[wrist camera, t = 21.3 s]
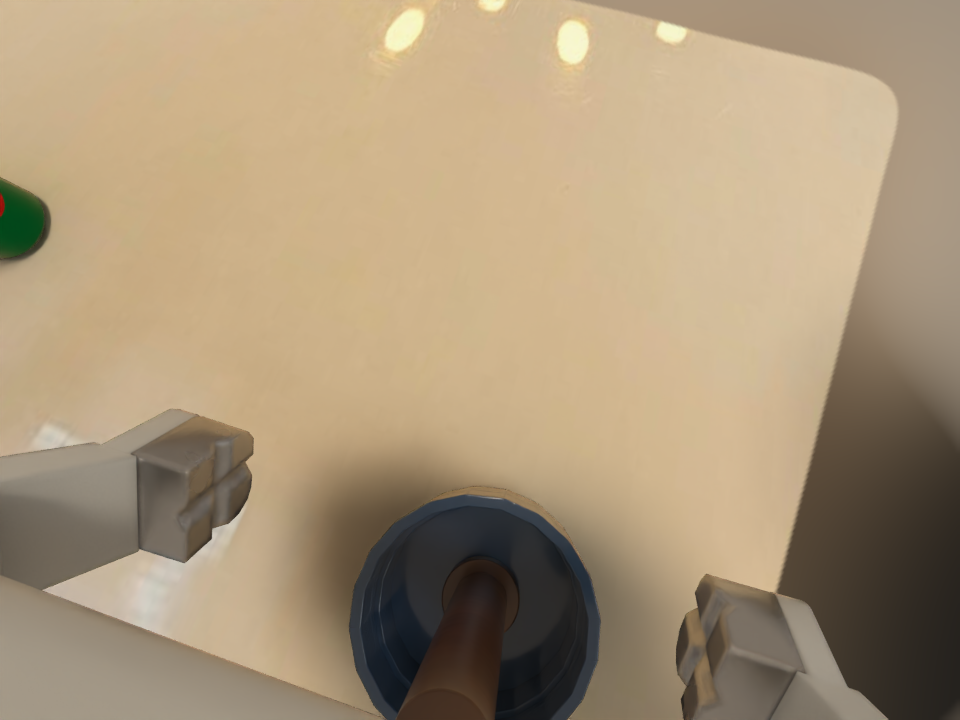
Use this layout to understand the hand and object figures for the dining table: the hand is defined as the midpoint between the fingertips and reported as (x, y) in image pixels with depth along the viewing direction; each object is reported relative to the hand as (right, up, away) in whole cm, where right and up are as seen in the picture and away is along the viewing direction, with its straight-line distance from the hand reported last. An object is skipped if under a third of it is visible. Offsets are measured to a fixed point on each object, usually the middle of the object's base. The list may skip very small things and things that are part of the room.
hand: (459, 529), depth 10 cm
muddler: (+1, -11, +22) cm, 25 cm away
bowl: (+1, -11, +23) cm, 26 cm away
